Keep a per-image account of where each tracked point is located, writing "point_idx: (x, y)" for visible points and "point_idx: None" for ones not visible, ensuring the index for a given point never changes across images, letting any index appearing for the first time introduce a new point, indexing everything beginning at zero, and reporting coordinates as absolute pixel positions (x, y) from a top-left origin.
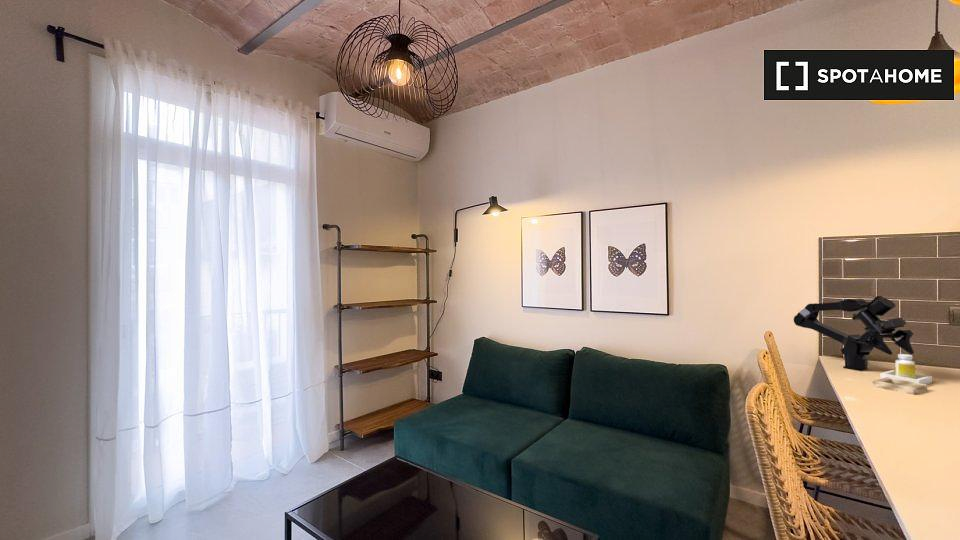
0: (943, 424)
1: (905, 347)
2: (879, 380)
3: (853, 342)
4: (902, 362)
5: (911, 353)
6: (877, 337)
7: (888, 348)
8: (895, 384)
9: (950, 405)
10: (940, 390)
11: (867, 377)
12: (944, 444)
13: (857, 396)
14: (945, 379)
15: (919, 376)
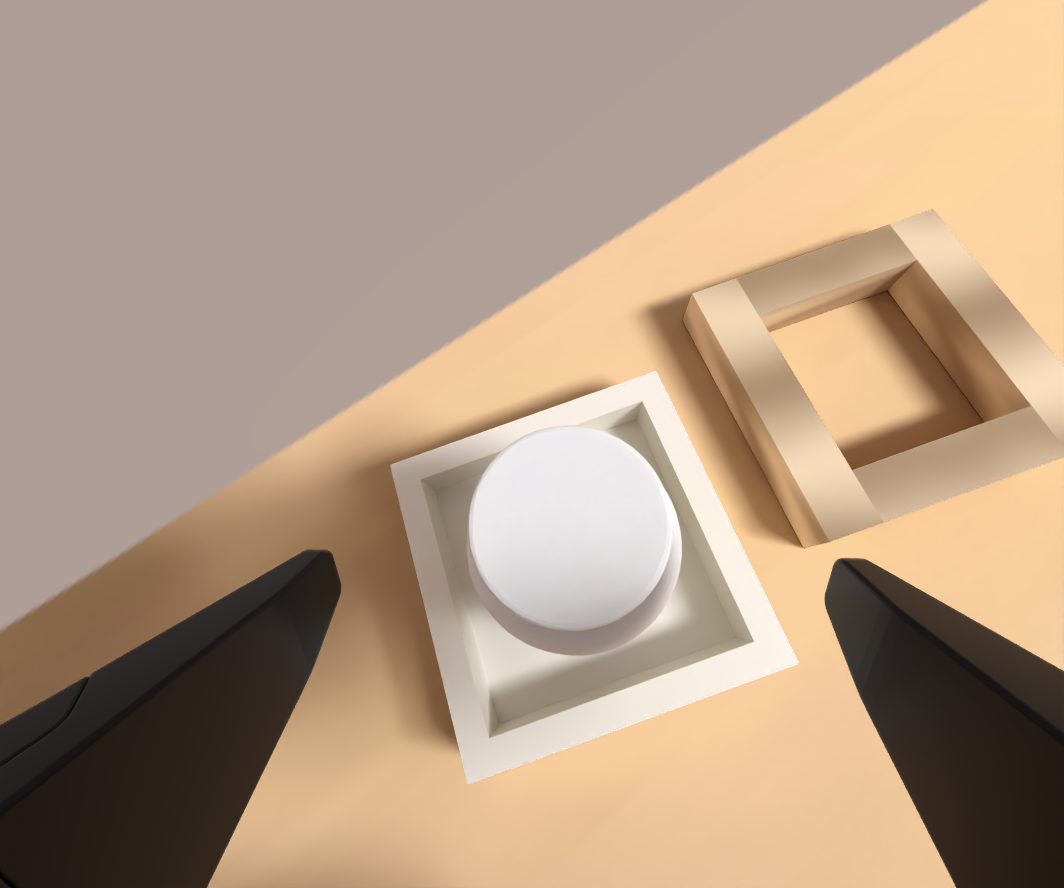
0: None
1: (223, 749)
2: (1026, 445)
3: None
4: (667, 497)
5: (333, 584)
6: None
7: (972, 639)
8: (974, 320)
9: (866, 81)
10: (588, 310)
11: (847, 755)
12: None
13: None
14: (175, 554)
15: (439, 534)
